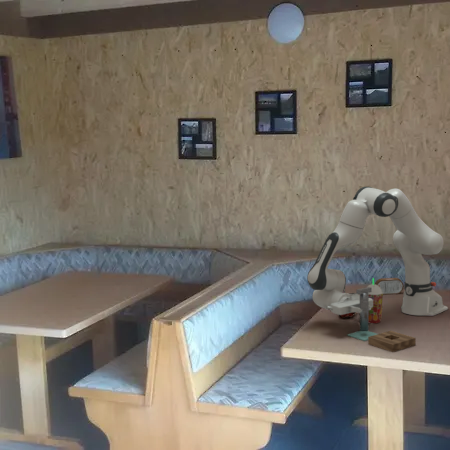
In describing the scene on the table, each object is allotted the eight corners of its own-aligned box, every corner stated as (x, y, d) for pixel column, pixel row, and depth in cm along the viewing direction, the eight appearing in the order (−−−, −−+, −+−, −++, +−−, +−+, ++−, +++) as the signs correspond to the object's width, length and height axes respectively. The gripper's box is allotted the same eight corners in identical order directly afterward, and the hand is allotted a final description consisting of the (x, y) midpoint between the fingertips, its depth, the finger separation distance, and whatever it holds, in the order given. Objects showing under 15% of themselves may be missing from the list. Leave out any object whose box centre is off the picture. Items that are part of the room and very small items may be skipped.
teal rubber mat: (364, 330, 285) (364, 329, 285) (381, 336, 277) (381, 335, 277) (347, 335, 279) (347, 334, 279) (364, 341, 271) (364, 340, 271)
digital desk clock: (402, 292, 348) (402, 277, 347) (404, 294, 345) (404, 278, 344) (374, 294, 347) (374, 278, 346) (375, 295, 344) (375, 279, 343)
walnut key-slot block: (390, 337, 275) (390, 330, 274) (415, 345, 264) (415, 337, 263) (368, 344, 267) (368, 336, 267) (393, 352, 257) (393, 344, 256)
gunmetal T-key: (366, 327, 281) (366, 286, 279) (373, 329, 278) (373, 288, 276) (355, 330, 277) (354, 289, 275) (361, 332, 274) (361, 290, 272)
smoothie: (360, 322, 298) (360, 278, 295) (370, 318, 304) (369, 275, 301) (377, 325, 292) (376, 281, 289) (386, 321, 298) (386, 277, 295)
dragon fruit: (349, 315, 314) (346, 326, 303) (335, 305, 315) (331, 315, 304) (360, 302, 311) (357, 313, 300) (345, 292, 312) (341, 302, 301)
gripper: (324, 300, 281) (347, 306, 269) (358, 292, 292) (382, 298, 281) (324, 314, 282) (347, 321, 270) (358, 306, 293) (382, 312, 282)
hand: (365, 309), depth 276 cm, fingers closed on gunmetal T-key, 4 cm apart
